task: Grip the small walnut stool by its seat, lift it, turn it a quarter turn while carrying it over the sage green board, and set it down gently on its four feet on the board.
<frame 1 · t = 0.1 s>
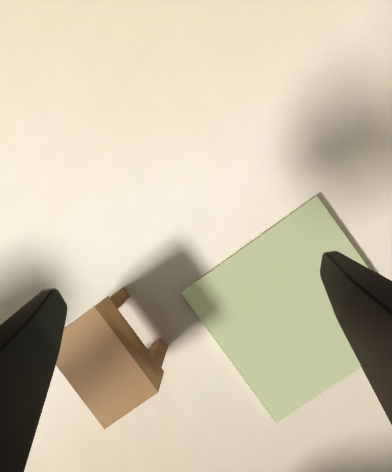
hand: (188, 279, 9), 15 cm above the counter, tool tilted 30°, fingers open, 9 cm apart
walnut stool: (127, 330, 25), on the counter
sage board: (293, 309, 24), on the counter
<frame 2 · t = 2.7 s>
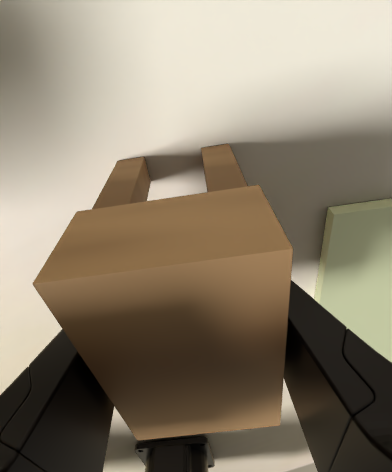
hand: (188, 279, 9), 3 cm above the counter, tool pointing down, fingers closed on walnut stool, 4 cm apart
walnut stool: (187, 227, 12), on the counter, touching gripper
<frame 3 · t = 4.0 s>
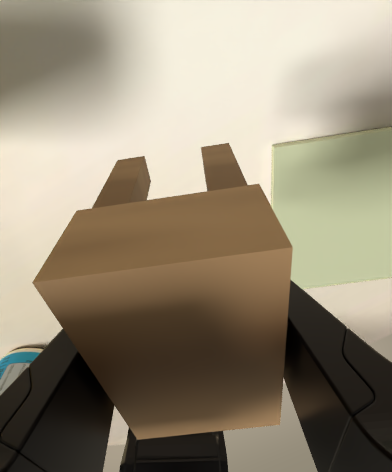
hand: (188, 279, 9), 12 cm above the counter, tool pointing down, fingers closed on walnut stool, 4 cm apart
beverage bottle: (40, 364, 33), on the counter
walnut stool: (187, 226, 12), point 9 cm above the counter, touching gripper
sage board: (356, 217, 23), on the counter
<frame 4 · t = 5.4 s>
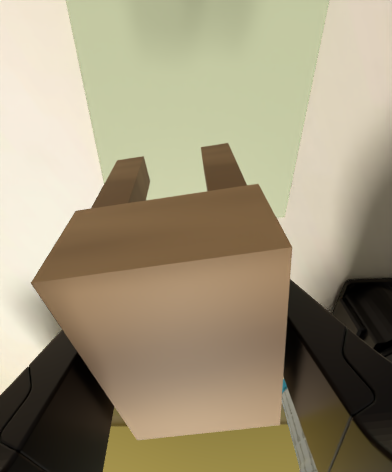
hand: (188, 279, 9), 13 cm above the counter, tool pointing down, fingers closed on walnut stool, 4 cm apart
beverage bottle: (305, 377, 39), on the counter
walnut stool: (186, 226, 12), point 10 cm above the counter, touching gripper
sage board: (198, 127, 19), on the counter
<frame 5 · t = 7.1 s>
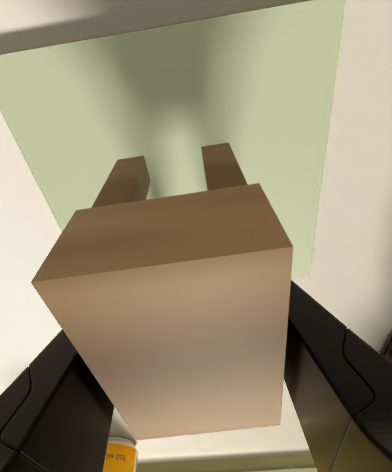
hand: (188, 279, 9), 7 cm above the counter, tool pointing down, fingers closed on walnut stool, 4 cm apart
walnut stool: (186, 226, 12), point 3 cm above the counter, touching gripper
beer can: (113, 443, 34), on the counter
sage board: (184, 190, 15), on the counter
when the fingers open (5 cm above the counter, at t = 8.3 s): walnut stool drops 1 cm, resting on sage board.
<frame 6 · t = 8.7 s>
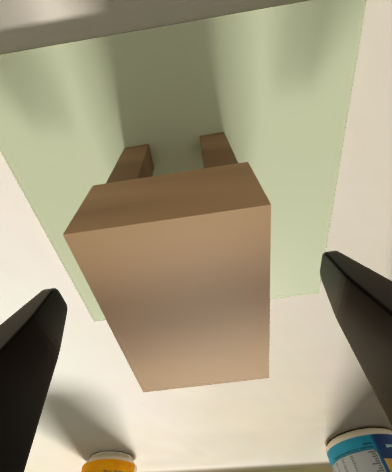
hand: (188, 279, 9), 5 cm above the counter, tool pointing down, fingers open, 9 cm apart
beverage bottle: (358, 438, 33), on the counter
walnut stool: (186, 209, 13), point 1 cm above the counter, touching sage board
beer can: (111, 457, 33), on the counter
sage board: (186, 203, 14), on the counter
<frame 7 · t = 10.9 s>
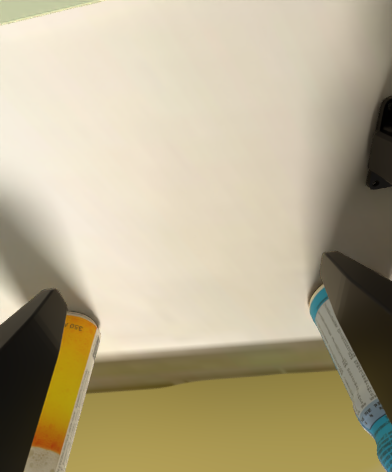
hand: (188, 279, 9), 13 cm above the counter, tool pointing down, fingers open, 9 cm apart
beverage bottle: (345, 295, 29), on the counter
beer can: (74, 325, 30), on the counter
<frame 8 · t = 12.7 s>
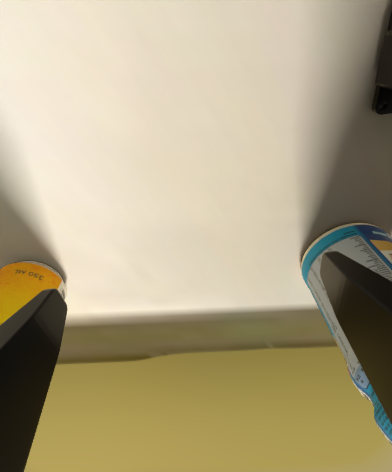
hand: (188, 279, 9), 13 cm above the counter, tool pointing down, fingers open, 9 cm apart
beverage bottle: (341, 255, 27), on the counter
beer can: (37, 279, 27), on the counter
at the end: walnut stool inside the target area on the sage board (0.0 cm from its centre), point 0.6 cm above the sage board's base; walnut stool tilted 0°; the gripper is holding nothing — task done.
